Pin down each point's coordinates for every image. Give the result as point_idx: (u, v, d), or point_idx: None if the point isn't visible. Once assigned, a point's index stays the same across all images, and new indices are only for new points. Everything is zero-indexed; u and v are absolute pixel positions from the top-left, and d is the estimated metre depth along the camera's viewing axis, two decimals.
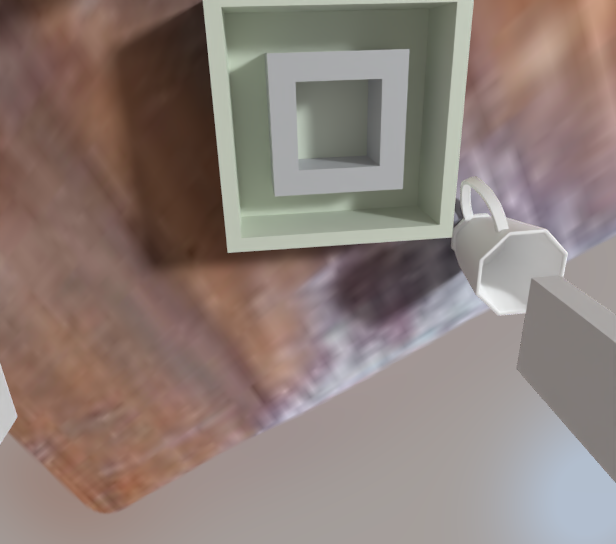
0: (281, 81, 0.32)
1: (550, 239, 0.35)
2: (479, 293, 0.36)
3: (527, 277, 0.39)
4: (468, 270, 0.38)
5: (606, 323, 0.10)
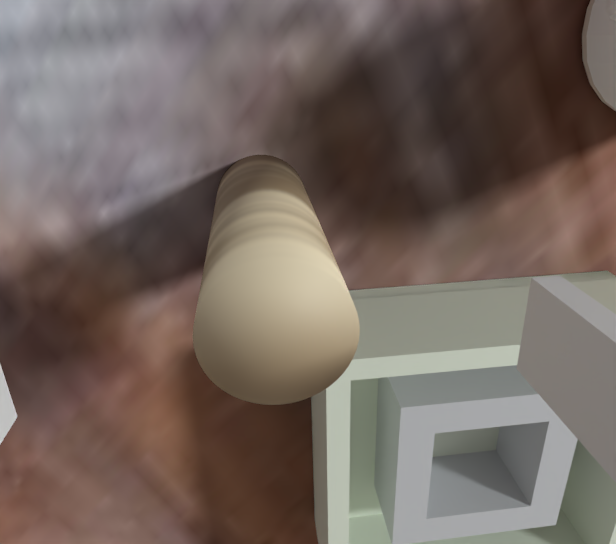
0: (416, 434, 0.23)
1: None
2: None
3: None
4: None
5: (606, 323, 0.10)
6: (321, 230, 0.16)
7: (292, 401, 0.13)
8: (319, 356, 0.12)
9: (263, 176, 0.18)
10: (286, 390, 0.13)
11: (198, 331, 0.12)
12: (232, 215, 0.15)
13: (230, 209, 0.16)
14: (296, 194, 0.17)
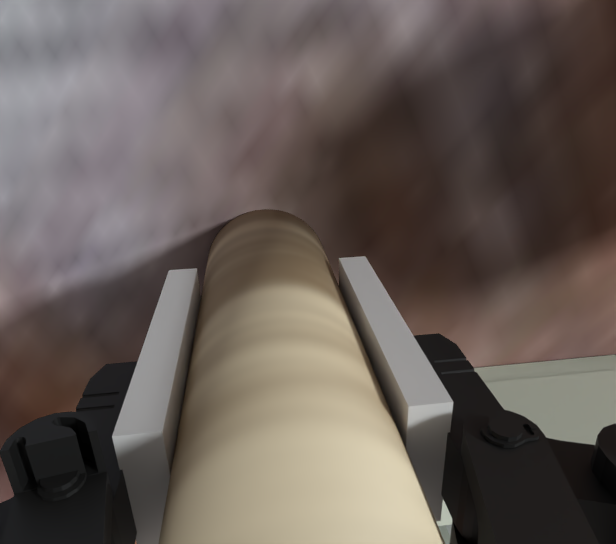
0: None
1: None
2: None
3: None
4: None
5: (369, 294, 0.12)
6: (365, 357, 0.10)
7: None
8: None
9: (272, 253, 0.13)
10: None
11: None
12: (224, 340, 0.09)
13: (222, 321, 0.10)
14: (321, 286, 0.12)
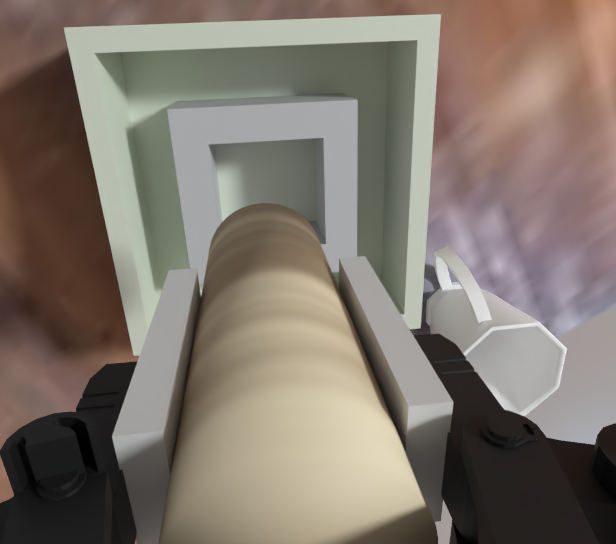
0: (189, 144, 0.24)
1: (545, 333, 0.28)
2: None
3: (517, 368, 0.32)
4: None
5: (369, 294, 0.12)
6: (355, 335, 0.11)
7: None
8: None
9: (269, 242, 0.14)
10: None
11: None
12: (226, 318, 0.10)
13: (223, 303, 0.11)
14: (316, 272, 0.13)
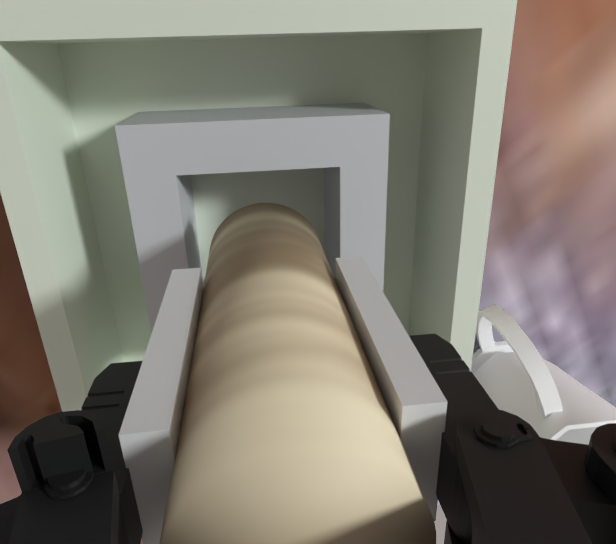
0: (148, 175, 0.17)
1: None
2: None
3: None
4: None
5: (365, 294, 0.12)
6: (355, 333, 0.11)
7: None
8: None
9: (270, 242, 0.14)
10: None
11: None
12: (227, 317, 0.10)
13: (224, 302, 0.11)
14: (316, 271, 0.13)
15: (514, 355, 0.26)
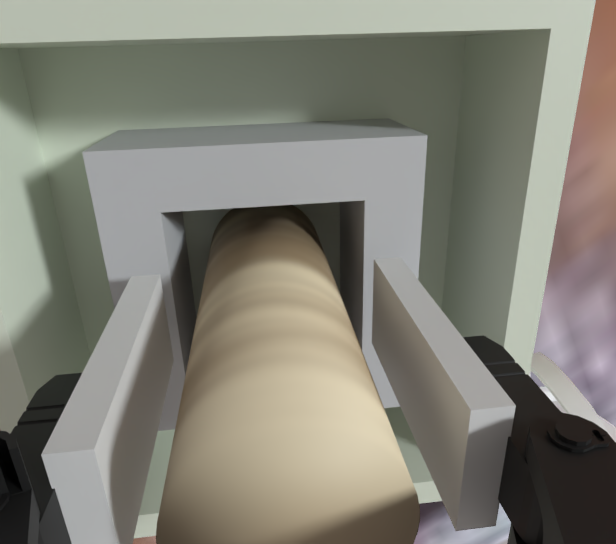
0: (126, 212, 0.13)
1: None
2: None
3: None
4: None
5: (411, 295, 0.12)
6: (349, 322, 0.11)
7: None
8: None
9: (268, 235, 0.14)
10: None
11: (165, 531, 0.07)
12: (225, 305, 0.11)
13: (223, 291, 0.12)
14: (312, 263, 0.13)
15: (556, 406, 0.22)
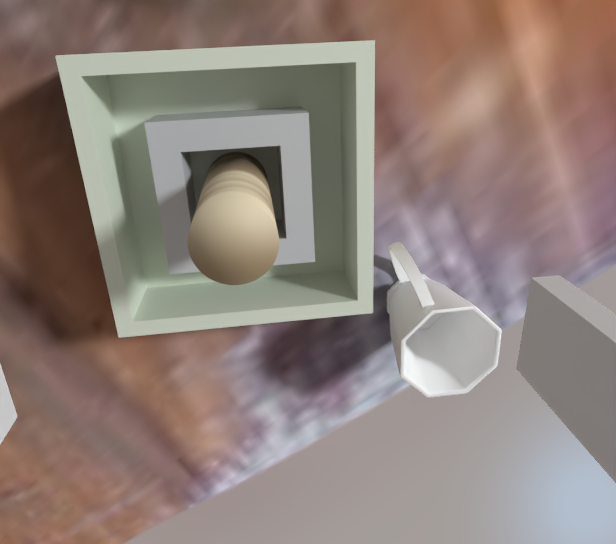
0: (164, 152, 0.28)
1: (481, 316, 0.31)
2: (404, 375, 0.32)
3: (464, 350, 0.35)
4: (395, 346, 0.34)
5: (606, 323, 0.10)
6: (266, 193, 0.26)
7: (244, 283, 0.23)
8: (257, 255, 0.23)
9: (234, 163, 0.29)
10: (240, 276, 0.23)
11: (190, 239, 0.22)
12: (211, 184, 0.25)
13: (211, 181, 0.26)
14: (254, 173, 0.28)
15: None
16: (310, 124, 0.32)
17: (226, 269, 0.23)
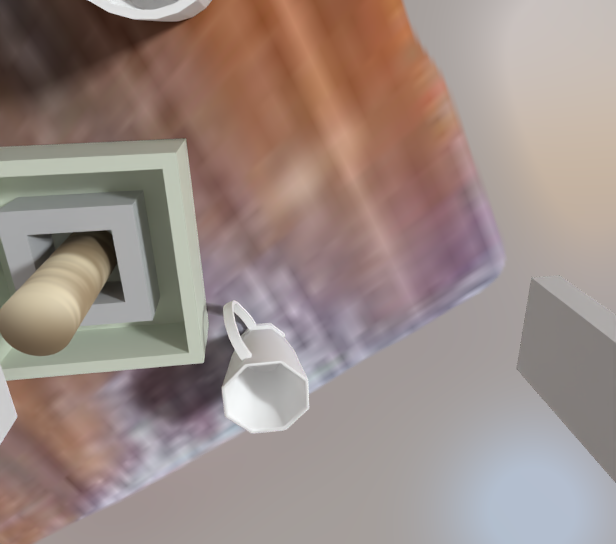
0: (12, 235, 0.34)
1: (288, 368, 0.37)
2: (228, 415, 0.39)
3: (291, 392, 0.41)
4: None
5: (606, 323, 0.10)
6: (85, 275, 0.32)
7: (49, 354, 0.29)
8: (57, 334, 0.29)
9: (73, 243, 0.35)
10: (45, 349, 0.29)
11: None
12: (38, 268, 0.32)
13: (42, 264, 0.32)
14: (84, 254, 0.34)
15: (260, 331, 0.43)
16: (152, 204, 0.38)
17: (32, 344, 0.29)
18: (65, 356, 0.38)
